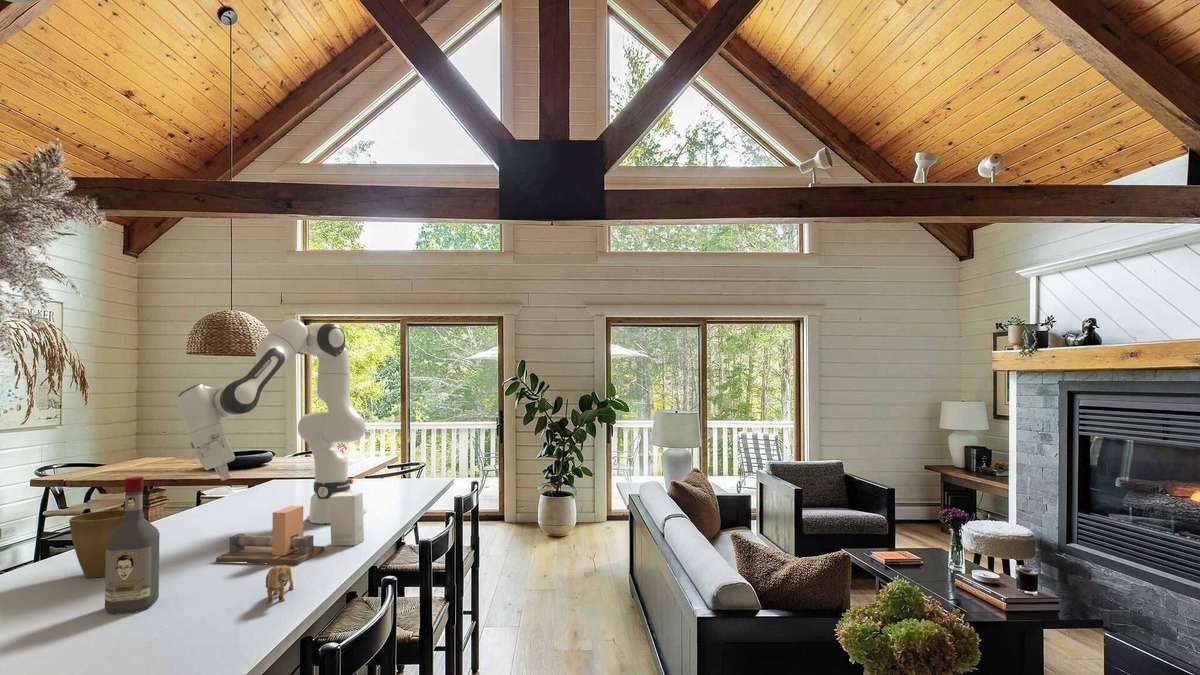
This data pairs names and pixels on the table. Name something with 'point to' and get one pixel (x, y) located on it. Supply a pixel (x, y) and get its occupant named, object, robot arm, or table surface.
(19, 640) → the table surface
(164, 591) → the table surface
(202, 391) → the robot arm
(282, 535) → the notched orange block
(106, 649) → the table surface
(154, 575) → the liquor
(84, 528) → the plant pot
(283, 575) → the lion figurine
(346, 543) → the skincare box
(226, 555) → the pipe stand
